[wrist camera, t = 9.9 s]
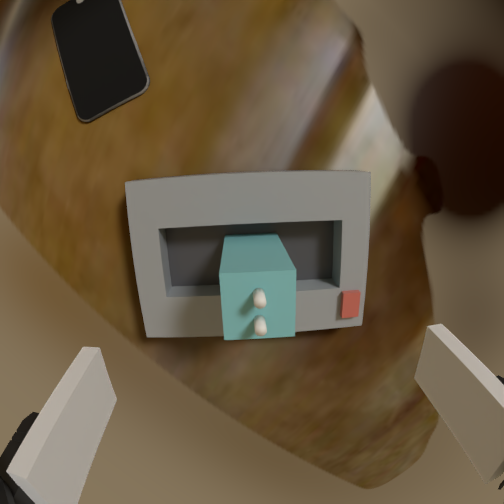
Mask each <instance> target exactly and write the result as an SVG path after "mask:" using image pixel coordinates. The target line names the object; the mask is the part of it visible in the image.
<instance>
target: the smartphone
mask: <svg viewBox="0 0 504 504" xmlns="http://www.w3.org/2000/svg"><path fill="white" fill-rule="evenodd" d="M51 22H52V26H53V31H54V35H55V39H56V44H57V48H58V52H59V56H60V59H61V63H62V67H63V70H64V74H65V78H66V82H67V86H68V89H69V91H70V95H71V98H72V101H73V104H74V108H75V111H76V114H77V116H78V118H79V119H80V120H81V121H84V122H90V121H93V120H94V119H96V118H98V117H100V116H101V115H103V114H105V113H107V112H109V111H111V110H112V109H114V108H116V107H118V106H120V105H122V104H124V103H126V102H127V101H129V100H131V99H133V98H135V97H137V96H139V95H141V94H143V93H144V92H145V91H146V90H147V89H148V87H149V84H150V78H149V75H148V73H147V70H146V67H145V65H144V62H143V59H142V56H141V54H140V51H139V48H138V45H137V43H136V40H135V38H134V35H133V32H132V30H131V27H130V24H129V21H128V19H127V16H126V13H125V10H124V7H123V5H122V2H121V0H70V1H68V2H67V3H65V4H63V5H62V6H60V7H59V8H58V9H56V10H55V12H54V13H53V15H52V18H51Z"/></svg>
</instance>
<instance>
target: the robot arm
mask: <svg viewBox="0 0 504 504" xmlns="http://www.w3.org/2000/svg"><path fill="white" fill-rule="evenodd" d="M414 379H415V380H416V382H417V383H418V384H419V386H420V387H421V389H422V390H423V391H424V393H425V394H426V396H427V397H428V399H429V400H430V401H431V403H432V404H433V406H434V407H435V409H436V410H437V412H438V413H439V414H440V416H441V417H442V419H443V420H444V422H445V423H446V425H447V426H448V428H449V429H450V431H451V432H452V434H453V435H454V436H455V438H456V440H457V441H458V443H459V444H460V446H461V447H462V449H463V450H464V452H465V453H466V455H467V456H468V458H469V459H470V461H471V463H472V464H473V466H474V467H475V469H476V470H477V472H478V474H479V475H480V477H481V478H482V480H483V482H484V483H485V484H487V483H488V482H490V481H492V480H494V479H496V478H497V477H499V476H501V474H502V473H503V472H504V378H502V377H500V376H495V375H494V374H493V373H492V372H491V371H490V370H489V369H488V368H487V367H486V366H484V364H483V363H482V362H481V361H480V360H479V359H478V358H477V357H476V356H475V355H474V354H472V352H471V351H470V350H469V349H467V347H465V346H464V345H463V344H462V343H461V342H460V341H459V340H458V339H457V338H456V337H455V336H454V335H453V334H452V333H451V332H450V331H449V330H448V329H447V328H446V327H444V326H443V325H442V324H437V325H432V326H427V330H426V334H425V339H424V343H423V347H422V351H421V355H420V359H419V362H418V366H417V370H416V373H415V377H414ZM116 401H117V399H116V396H115V393H114V391H113V387H112V385H111V382H110V379H109V376H108V373H107V370H106V367H105V364H104V360H103V357H102V354H101V351H100V348H96V347H83V348H82V349H81V351H80V352H79V354H78V355H77V357H76V358H75V360H74V361H73V362H72V364H71V365H70V367H69V369H68V370H67V371H66V373H65V374H64V376H63V377H62V379H61V380H60V382H59V383H58V385H57V387H56V388H55V390H54V391H53V393H52V395H51V396H50V398H49V399H48V401H47V402H46V404H45V405H44V407H43V409H42V410H41V412H40V413H36V412H33V413H31V414H30V415H29V416H27V417H26V418H25V419H24V420H23V421H22V422H21V424H20V426H19V427H18V429H17V432H15V434H14V435H13V437H12V440H11V441H10V442H9V443H8V445H7V447H6V449H5V450H4V452H3V454H2V455H1V457H0V504H78V501H79V498H80V495H81V492H82V489H83V486H84V484H85V481H86V478H87V475H88V472H89V470H90V467H91V464H92V462H93V459H94V456H95V454H96V451H97V448H98V446H99V443H100V440H101V438H102V435H103V433H104V430H105V428H106V425H107V423H108V420H109V418H110V415H111V413H112V410H113V408H114V406H115V403H116ZM503 486H504V480H503V481H502V483H501V484H500V486H499V488H498V489H501V488H502V487H503Z"/></svg>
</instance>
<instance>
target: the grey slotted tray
mask: <svg viewBox="0 0 504 504" xmlns="http://www.w3.org/2000/svg"><path fill="white" fill-rule="evenodd" d="M125 190H126V202H127V212H128V221H129V230H130V238H131V246H132V254H133V261H134V268H135V274H136V281H137V287H138V293H139V298H140V304H141V310H142V315H143V320H144V325H145V330H146V335H147V337H211V336H224V331H223V319H222V306H221V293H220V279H219V271H220V264H221V258H222V251H223V245H224V238H225V235H234V234H257V233H277V235H278V237H279V238H280V240H281V242H282V244H283V246H284V248H285V250H286V251H287V253H288V255H289V257H290V259H291V261H292V263H293V265H294V266H295V268H296V316H295V332H299V331H310V330H321V329H331V328H341V327H350V326H359V325H362V318H363V309H364V300H365V289H366V277H367V264H368V249H369V229H370V191H371V172H367V171H354V170H290V171H254V172H232V173H214V174H199V175H185V176H173V177H161V178H151V179H141V180H133V181H129V182H125Z"/></svg>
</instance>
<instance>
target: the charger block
mask: <svg viewBox="0 0 504 504" xmlns="http://www.w3.org/2000/svg"><path fill="white" fill-rule="evenodd" d="M219 279H220V293H221V306H222V319H223V331H224V340H239V339H259V338H276V337H290V336H295V316H296V268H295V266H294V265H293V263H292V261H291V259H290V257H289V255H288V253H287V251H286V250H285V248H284V246H283V244H282V242H281V240H280V238H279V237H278V235H277V233H257V234H234V235H225V238H224V245H223V251H222V258H221V264H220V271H219Z"/></svg>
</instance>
